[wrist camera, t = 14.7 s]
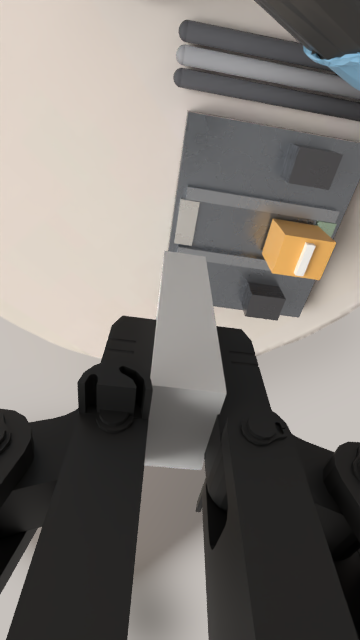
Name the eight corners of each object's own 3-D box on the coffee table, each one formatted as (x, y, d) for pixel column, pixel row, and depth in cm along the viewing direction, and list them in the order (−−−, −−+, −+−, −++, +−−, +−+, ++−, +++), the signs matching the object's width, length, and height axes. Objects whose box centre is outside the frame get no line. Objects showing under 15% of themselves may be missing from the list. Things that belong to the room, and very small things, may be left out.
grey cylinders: (180, 20, 27) (180, 16, 26) (412, 68, 29) (421, 67, 28) (172, 85, 30) (172, 85, 29) (386, 126, 32) (394, 127, 31)
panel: (187, 110, 31) (188, 112, 27) (362, 142, 33) (391, 149, 28) (162, 289, 42) (160, 312, 38) (293, 307, 44) (306, 331, 39)
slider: (272, 218, 34) (287, 237, 29) (317, 225, 34) (338, 245, 30) (261, 253, 36) (273, 276, 32) (304, 259, 37) (321, 282, 32)
